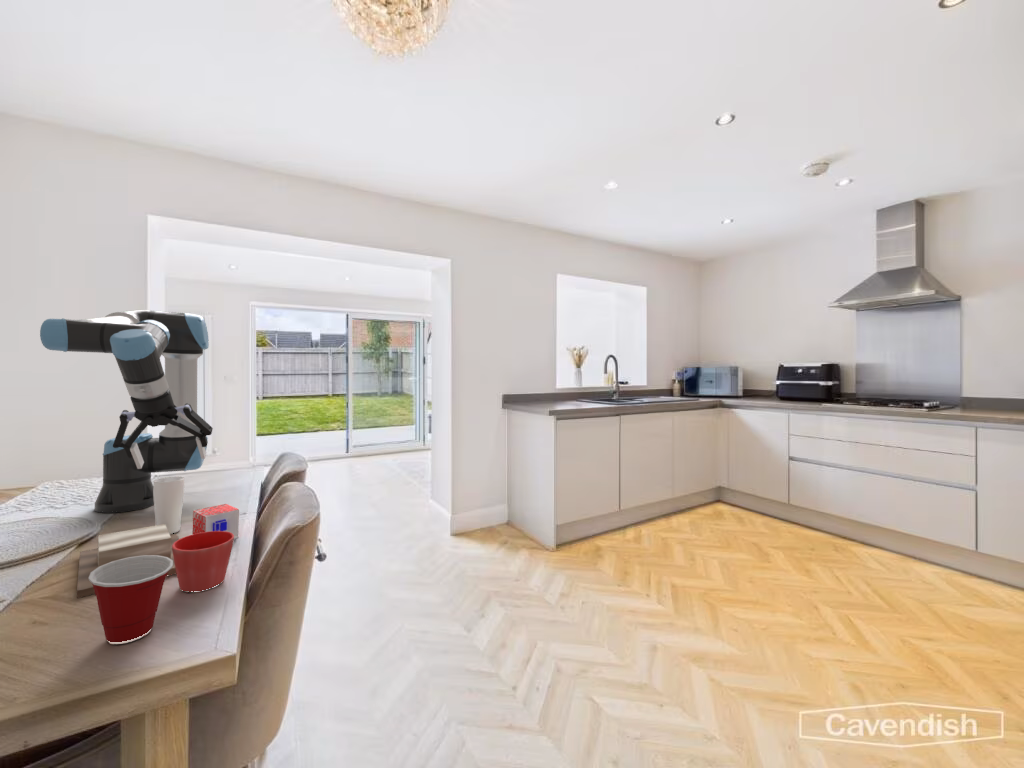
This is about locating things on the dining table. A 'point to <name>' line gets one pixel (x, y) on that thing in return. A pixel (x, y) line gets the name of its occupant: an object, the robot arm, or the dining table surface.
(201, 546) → the flower pot
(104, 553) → the display stand
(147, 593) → the plastic cup
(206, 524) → the red patterned cube
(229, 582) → the dining table surface
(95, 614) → the dining table surface
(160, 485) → the drinking glass
